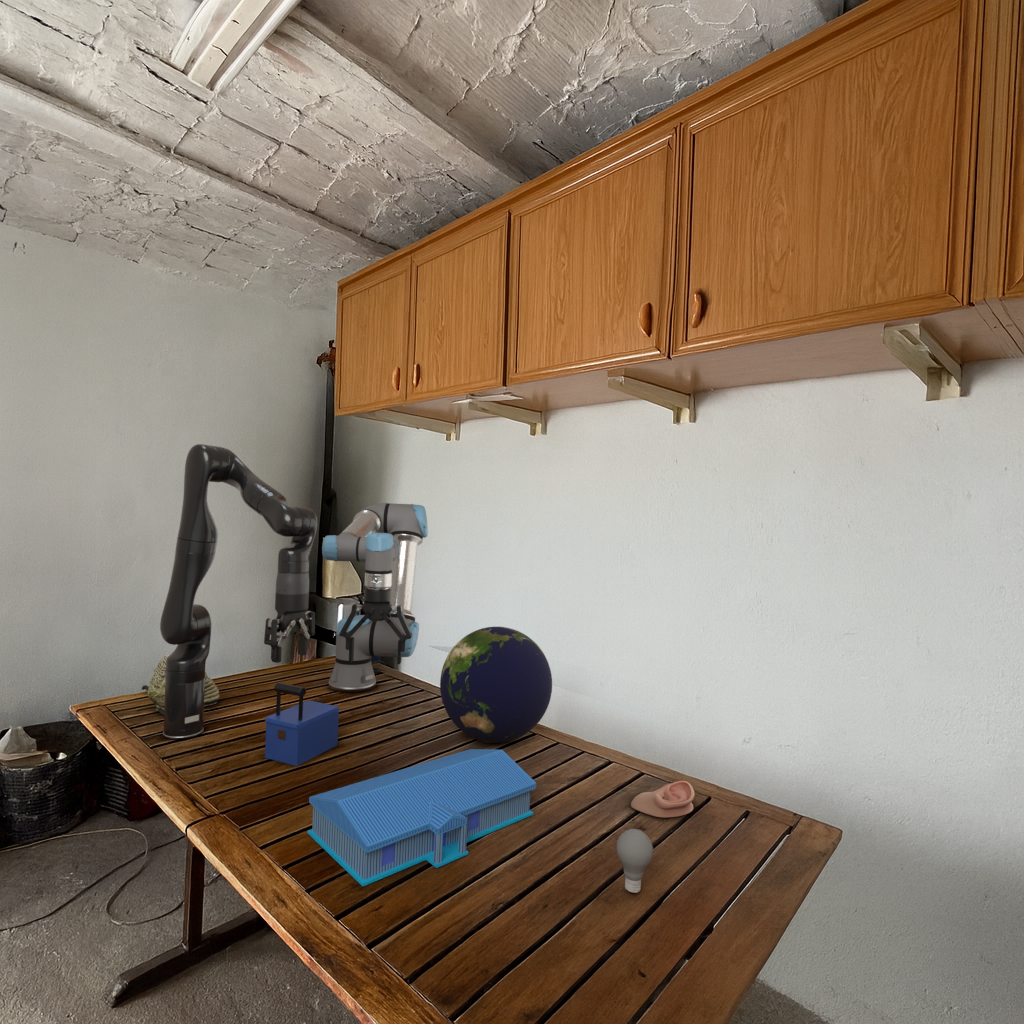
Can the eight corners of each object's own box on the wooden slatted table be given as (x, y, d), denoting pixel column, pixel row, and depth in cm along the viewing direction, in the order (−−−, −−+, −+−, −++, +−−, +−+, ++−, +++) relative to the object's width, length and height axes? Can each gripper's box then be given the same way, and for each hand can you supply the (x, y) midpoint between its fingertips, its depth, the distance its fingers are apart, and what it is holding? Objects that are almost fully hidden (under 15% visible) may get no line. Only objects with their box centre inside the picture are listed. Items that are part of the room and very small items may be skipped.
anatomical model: (631, 794, 132) (632, 772, 143) (630, 813, 132) (631, 789, 143) (697, 803, 129) (693, 779, 140) (696, 822, 129) (692, 797, 141)
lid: (296, 729, 148) (298, 691, 147) (264, 721, 152) (266, 684, 151) (339, 710, 161) (340, 675, 161) (308, 704, 165) (309, 670, 165)
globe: (416, 747, 162) (421, 630, 161) (468, 713, 189) (472, 613, 189) (525, 771, 150) (531, 645, 150) (563, 731, 178) (568, 624, 177)
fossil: (144, 707, 182) (145, 655, 182) (212, 696, 194) (213, 647, 194) (151, 716, 175) (153, 662, 175) (221, 703, 188) (223, 653, 188)
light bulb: (610, 879, 108) (613, 822, 108) (644, 879, 109) (647, 822, 109) (619, 902, 102) (622, 840, 102) (655, 901, 103) (658, 840, 103)
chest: (296, 766, 148) (298, 728, 148) (264, 757, 152) (266, 721, 152) (337, 745, 162) (338, 710, 161) (307, 737, 166) (308, 704, 165)
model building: (372, 896, 101) (375, 834, 101) (306, 832, 119) (308, 779, 119) (545, 820, 127) (547, 771, 127) (469, 777, 146) (471, 734, 145)
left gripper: (282, 595, 143) (279, 667, 143) (325, 588, 156) (322, 654, 156) (257, 592, 146) (254, 662, 146) (301, 585, 159) (298, 650, 159)
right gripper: (330, 587, 175) (327, 664, 176) (420, 591, 176) (417, 667, 176) (336, 583, 182) (334, 657, 183) (423, 587, 183) (420, 660, 184)
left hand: (289, 658), depth 151 cm, fingers open, 8 cm apart
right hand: (375, 662), depth 180 cm, fingers open, 13 cm apart
